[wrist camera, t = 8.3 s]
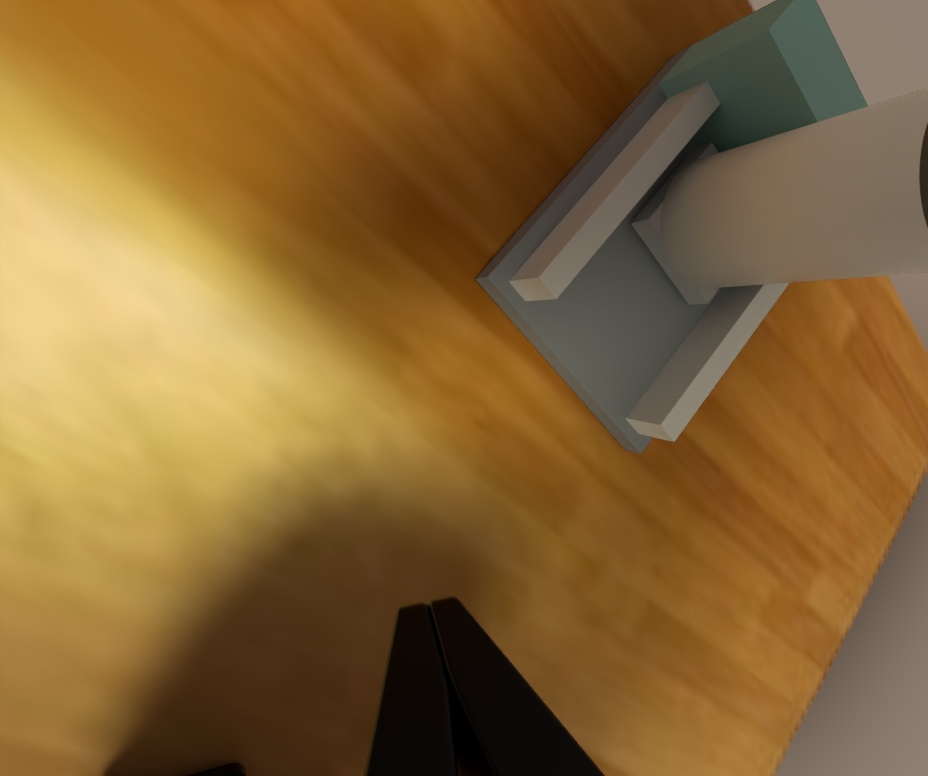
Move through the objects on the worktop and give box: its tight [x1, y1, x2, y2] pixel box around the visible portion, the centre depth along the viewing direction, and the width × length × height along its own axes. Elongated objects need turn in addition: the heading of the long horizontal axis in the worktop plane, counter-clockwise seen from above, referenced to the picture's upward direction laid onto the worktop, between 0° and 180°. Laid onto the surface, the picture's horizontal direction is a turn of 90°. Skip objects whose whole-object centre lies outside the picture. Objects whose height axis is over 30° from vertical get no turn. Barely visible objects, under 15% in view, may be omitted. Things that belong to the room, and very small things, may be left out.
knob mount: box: [475, 0, 868, 454], centre depth 24 cm, size 13×10×6 cm
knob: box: [631, 88, 928, 305], centre depth 21 cm, size 5×5×11 cm
